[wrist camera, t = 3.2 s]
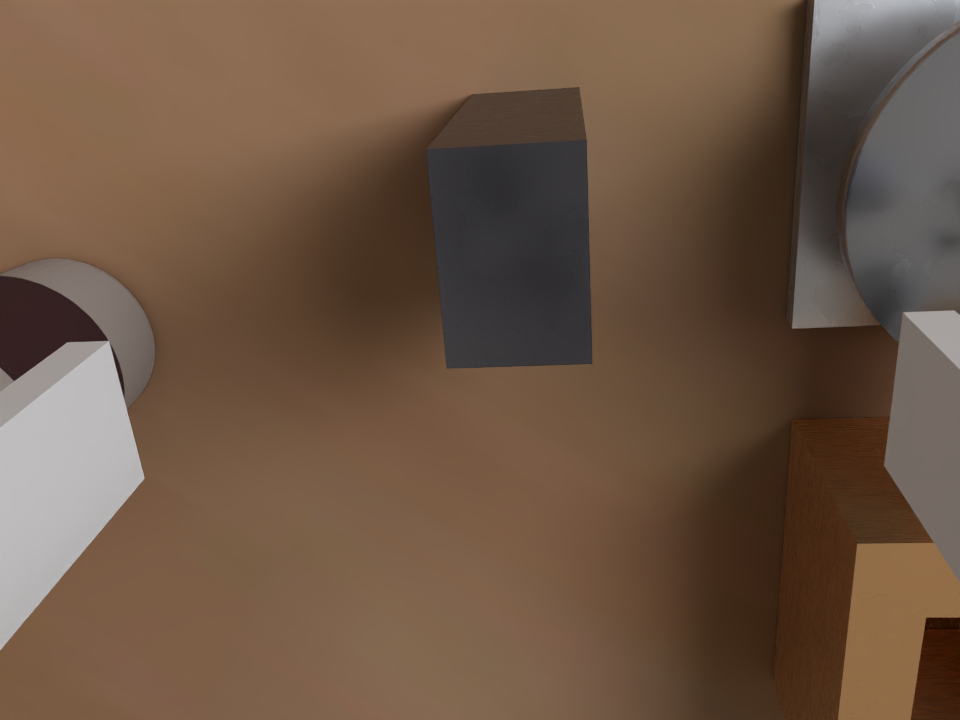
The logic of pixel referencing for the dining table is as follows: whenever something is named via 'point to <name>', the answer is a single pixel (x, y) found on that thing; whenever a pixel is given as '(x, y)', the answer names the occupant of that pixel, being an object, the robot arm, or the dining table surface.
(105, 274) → the coffee cup
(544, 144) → the dark grey block
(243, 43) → the dining table surface
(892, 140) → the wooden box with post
